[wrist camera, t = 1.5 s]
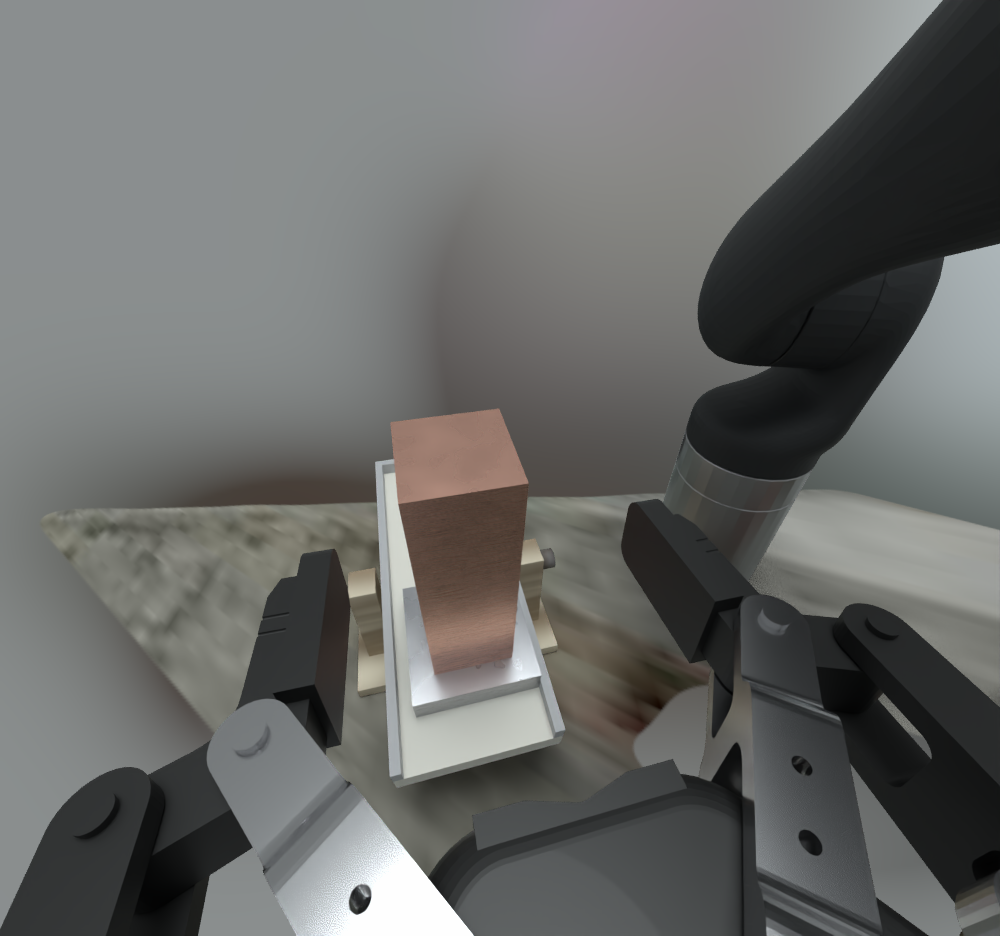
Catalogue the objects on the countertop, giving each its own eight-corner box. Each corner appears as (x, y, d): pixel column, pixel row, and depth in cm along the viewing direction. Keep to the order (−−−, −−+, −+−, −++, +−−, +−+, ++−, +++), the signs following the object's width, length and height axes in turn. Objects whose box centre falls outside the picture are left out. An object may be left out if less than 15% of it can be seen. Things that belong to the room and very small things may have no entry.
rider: (538, 687, 29) (578, 505, 16) (416, 717, 27) (355, 543, 15) (509, 582, 34) (521, 387, 22) (406, 602, 33) (356, 406, 20)
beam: (559, 743, 28) (565, 729, 26) (397, 787, 26) (389, 777, 24) (479, 467, 46) (478, 447, 44) (380, 482, 44) (375, 461, 42)
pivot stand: (560, 650, 39) (570, 585, 33) (356, 697, 36) (328, 635, 30) (533, 578, 45) (538, 513, 39) (358, 613, 42) (334, 548, 36)
